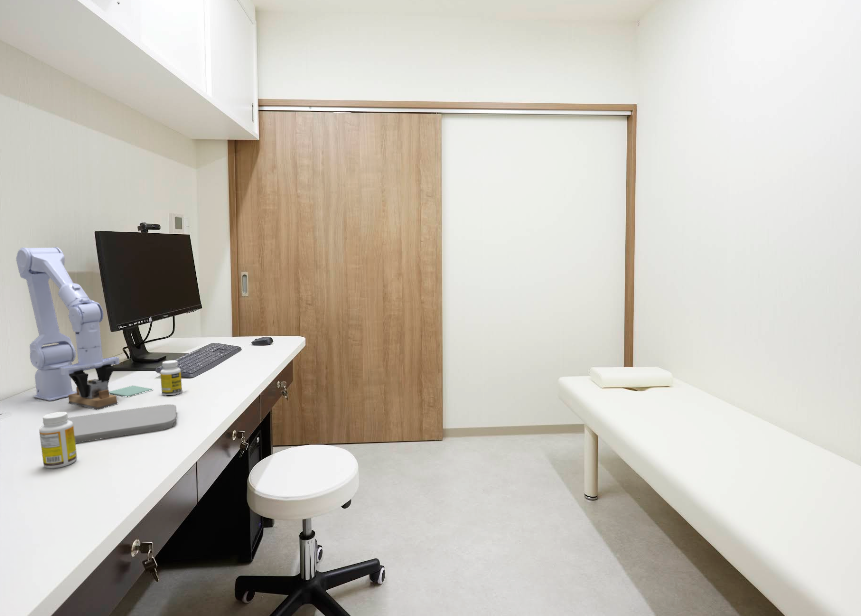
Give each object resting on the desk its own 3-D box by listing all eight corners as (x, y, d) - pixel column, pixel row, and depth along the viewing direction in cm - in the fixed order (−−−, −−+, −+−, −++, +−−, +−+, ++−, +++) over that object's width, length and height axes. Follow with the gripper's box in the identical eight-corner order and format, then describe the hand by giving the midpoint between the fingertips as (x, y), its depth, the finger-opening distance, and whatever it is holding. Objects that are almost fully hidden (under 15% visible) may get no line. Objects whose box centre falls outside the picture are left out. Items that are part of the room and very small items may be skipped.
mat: (107, 393, 155) (107, 392, 155) (132, 386, 162) (132, 385, 162) (127, 397, 150) (127, 395, 150) (153, 390, 157) (153, 388, 157)
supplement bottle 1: (72, 455, 107) (67, 408, 106) (81, 462, 104) (75, 413, 103) (40, 464, 103) (34, 415, 102) (47, 472, 100) (42, 421, 98)
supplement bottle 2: (174, 396, 150) (171, 363, 149) (157, 396, 151) (155, 363, 150) (186, 391, 155) (183, 359, 154) (170, 390, 156) (168, 359, 155)
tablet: (59, 427, 126) (58, 418, 126) (176, 411, 137) (176, 403, 137) (43, 450, 112) (42, 440, 111) (176, 430, 123) (175, 421, 123)
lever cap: (79, 396, 143) (78, 380, 142) (96, 392, 147) (94, 376, 146) (92, 399, 140) (90, 382, 140) (108, 394, 144) (107, 378, 144)
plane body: (68, 403, 145) (67, 388, 145) (88, 398, 150) (87, 383, 150) (97, 409, 139) (95, 393, 138) (117, 404, 144) (116, 388, 143)
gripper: (69, 352, 134) (74, 403, 135) (123, 343, 146) (128, 389, 148) (54, 350, 137) (59, 400, 139) (109, 341, 150) (113, 386, 151)
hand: (94, 394), depth 144 cm, fingers closed on lever cap, 4 cm apart
